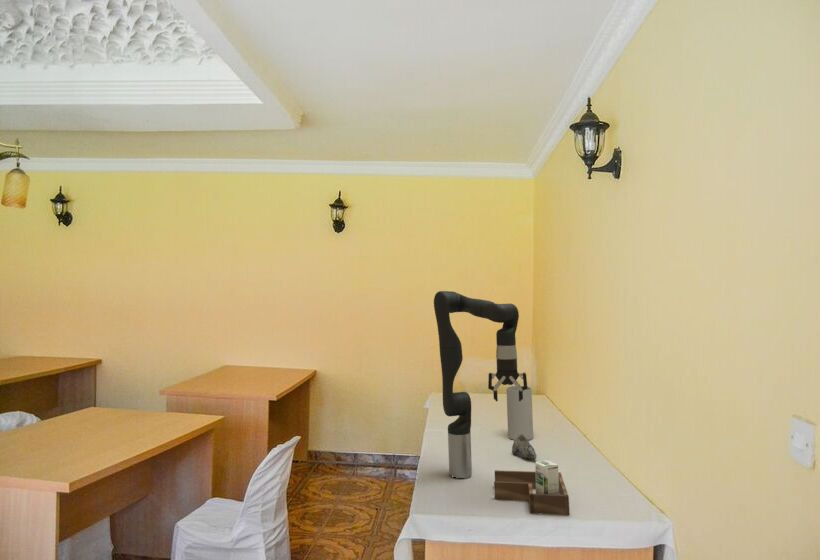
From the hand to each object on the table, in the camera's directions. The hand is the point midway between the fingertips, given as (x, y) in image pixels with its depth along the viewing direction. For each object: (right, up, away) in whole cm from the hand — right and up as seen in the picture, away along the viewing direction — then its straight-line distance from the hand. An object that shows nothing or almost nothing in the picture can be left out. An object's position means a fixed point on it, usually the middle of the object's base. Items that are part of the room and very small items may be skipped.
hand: (508, 400), depth 185 cm
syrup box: (+11, -33, -15) cm, 37 cm away
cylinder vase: (+20, -35, +67) cm, 79 cm away
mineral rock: (+14, -34, +37) cm, 52 cm away
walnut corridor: (+6, -33, -9) cm, 34 cm away
